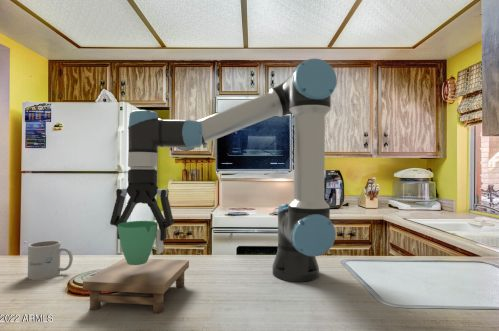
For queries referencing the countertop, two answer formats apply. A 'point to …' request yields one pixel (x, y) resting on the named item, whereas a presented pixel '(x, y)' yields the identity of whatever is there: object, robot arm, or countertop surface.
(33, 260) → the mug
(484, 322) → the countertop surface
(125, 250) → the green cup
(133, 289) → the stool
